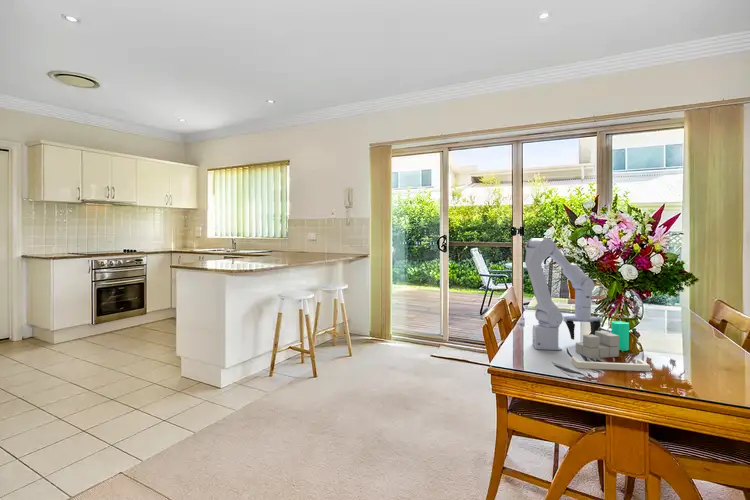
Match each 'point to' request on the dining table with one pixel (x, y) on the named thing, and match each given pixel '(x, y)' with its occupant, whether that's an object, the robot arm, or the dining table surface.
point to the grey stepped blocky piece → (599, 345)
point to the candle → (621, 333)
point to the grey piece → (612, 365)
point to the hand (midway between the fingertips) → (582, 339)
